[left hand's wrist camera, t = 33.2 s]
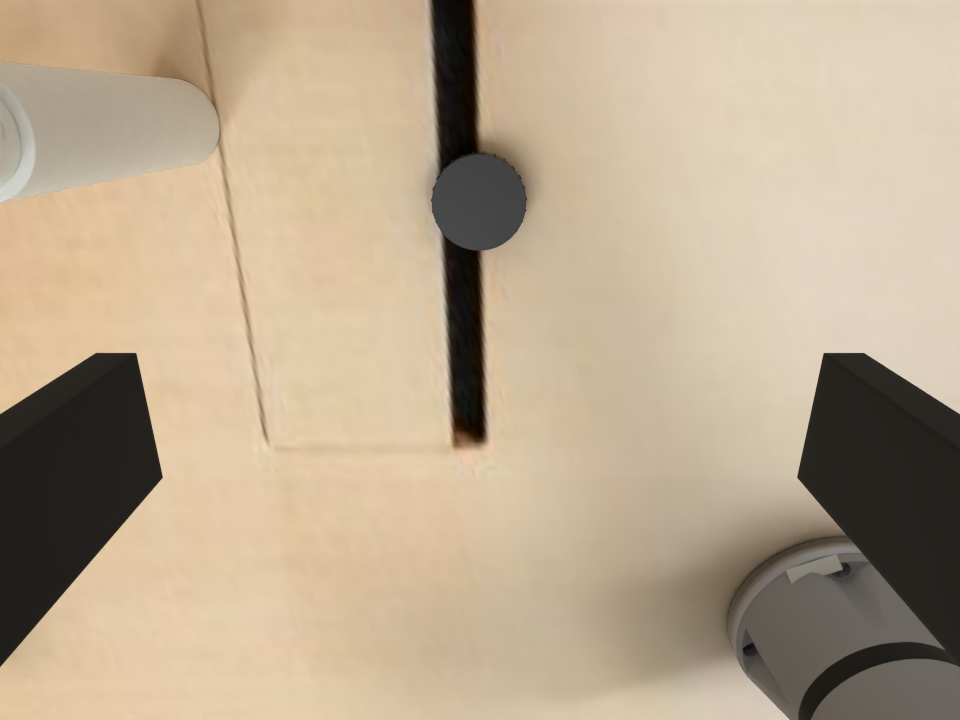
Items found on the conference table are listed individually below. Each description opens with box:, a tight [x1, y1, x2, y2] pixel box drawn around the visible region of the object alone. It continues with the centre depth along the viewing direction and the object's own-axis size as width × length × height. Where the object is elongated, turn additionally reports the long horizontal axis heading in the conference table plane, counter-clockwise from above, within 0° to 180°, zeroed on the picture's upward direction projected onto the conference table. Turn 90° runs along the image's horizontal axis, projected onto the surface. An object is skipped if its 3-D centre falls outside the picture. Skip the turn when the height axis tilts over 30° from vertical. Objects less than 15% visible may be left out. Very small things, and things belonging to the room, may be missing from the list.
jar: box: [0, 62, 220, 203], centre depth 29 cm, size 5×5×18 cm
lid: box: [431, 152, 527, 250], centre depth 39 cm, size 6×6×2 cm
